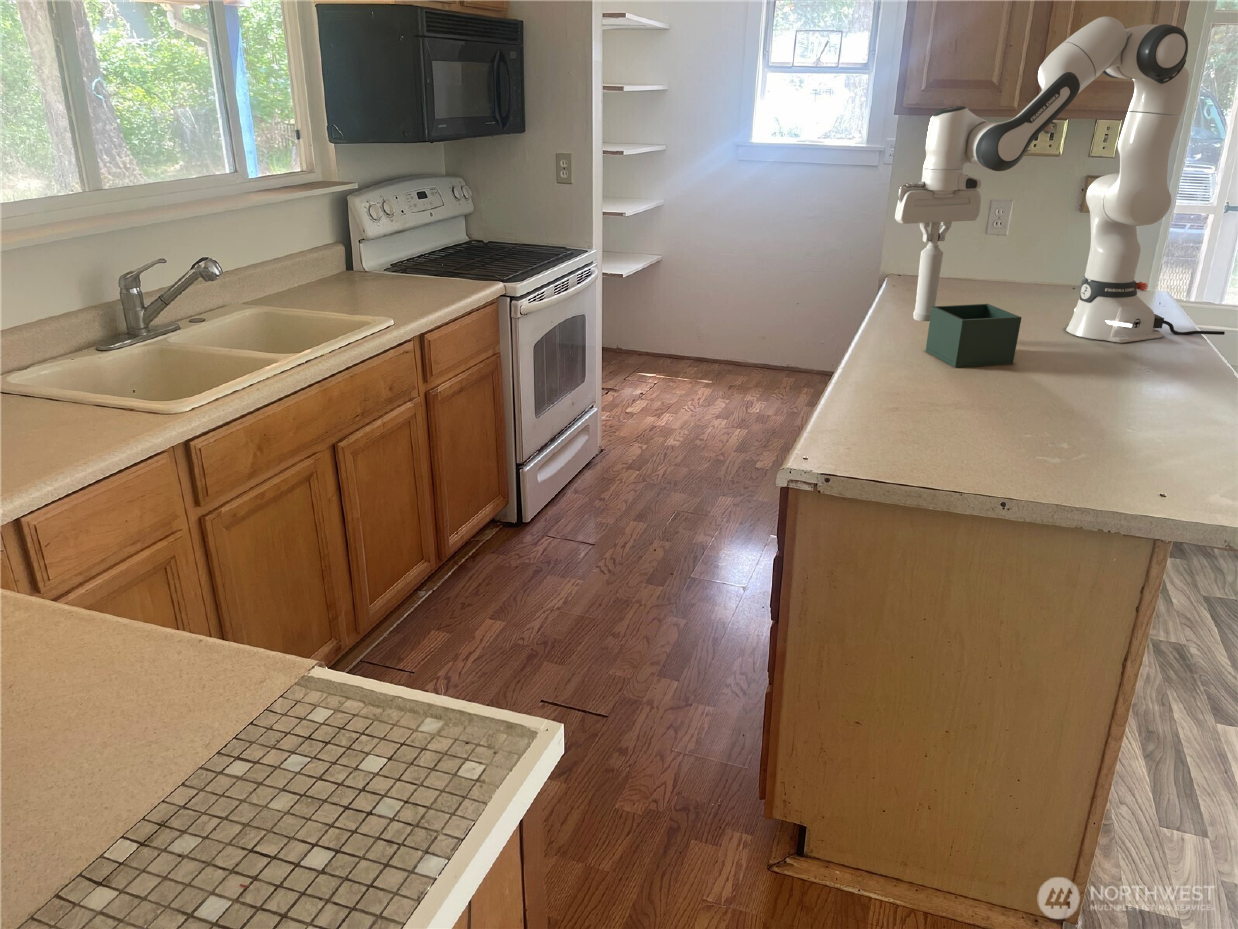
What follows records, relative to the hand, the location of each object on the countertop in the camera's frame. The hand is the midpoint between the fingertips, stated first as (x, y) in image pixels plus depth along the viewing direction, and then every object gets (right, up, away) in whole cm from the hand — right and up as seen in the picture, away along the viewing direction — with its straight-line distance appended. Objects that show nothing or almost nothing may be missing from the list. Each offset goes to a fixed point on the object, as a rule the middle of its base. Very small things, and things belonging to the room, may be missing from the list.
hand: (933, 241), depth 210 cm
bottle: (0, -18, +8) cm, 19 cm away
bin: (+7, -29, -4) cm, 30 cm away
